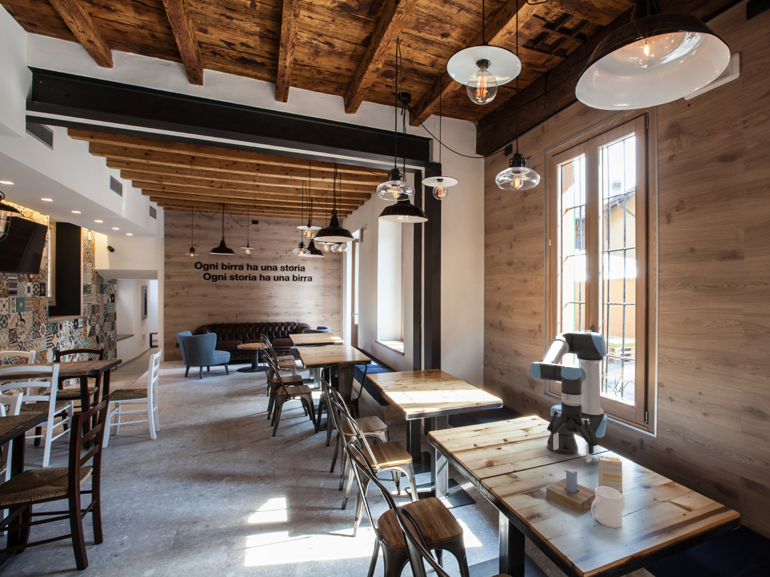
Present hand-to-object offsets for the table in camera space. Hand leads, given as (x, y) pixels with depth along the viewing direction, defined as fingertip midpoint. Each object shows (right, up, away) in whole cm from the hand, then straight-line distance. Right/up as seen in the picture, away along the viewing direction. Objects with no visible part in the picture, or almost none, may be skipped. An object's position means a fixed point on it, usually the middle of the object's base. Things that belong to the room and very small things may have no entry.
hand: (571, 454), depth 150 cm
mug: (+5, -18, -15) cm, 24 cm away
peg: (0, -18, 0) cm, 18 cm away
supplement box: (+21, -19, +8) cm, 29 cm away
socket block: (0, -18, -1) cm, 18 cm away
